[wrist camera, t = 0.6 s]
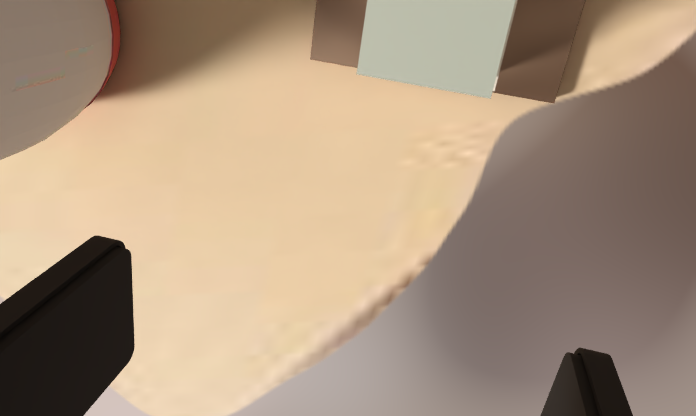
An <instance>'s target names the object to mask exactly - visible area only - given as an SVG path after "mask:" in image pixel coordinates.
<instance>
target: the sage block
mask: <svg viewBox="0 0 696 416" xmlns="http://www.w3.org/2000/svg"><path fill="white" fill-rule="evenodd" d="M515 1H516V0H367V6H366V13H365V20H364V27H363V34H362V40H361V47H360V54H359V61H358V68H357V74H358V75H363V76H369V77H374V78H380V79H385V80H391V81H396V82H402V83H407V84H413V85H418V86H424V87H429V88H435V89H440V90H446V91H451V92H457V93H462V94H468V95H473V96H479V97H484V98H490V99H491V95H492V91H493V88H494V84H495V80H496V76H497V72H498V68H499V64H500V60H501V56H502V52H503V48H504V44H505V40H506V36H507V32H508V28H509V24H510V20H511V16H512V12H513V8H514V4H515Z"/></svg>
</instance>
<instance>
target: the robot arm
mask: <svg viewBox="0 0 696 416" xmlns="http://www.w3.org/2000/svg"><path fill="white" fill-rule="evenodd" d="M133 351H134V321H133V293H132V265H131V253H130V251H129V250H128V249H125V245H124V243H123V242H121V241H119V240H114V239H110V238H106V237H102V236H94V237H92V238H90V239H89V240H87V241H86V242H85V243H83V244H82V245H81V246H79V247H78V248H76V249H75V250H74V251H72V252H71V253H70V254H68V255H67V256H65V257H64V258H63V259H61V260H60V261H59V262H57V263H56V264H54V265H53V266H52V267H50V268H49V269H48V270H46V271H45V272H43V273H42V274H41V275H39V276H38V277H37V278H35V279H34V280H32V281H31V282H30V283H28V284H27V285H26V286H24V287H23V288H22V289H20V290H19V291H17V292H16V293H15V294H13V295H12V296H11V297H9V298H8V299H6V300H5V301H4V302H2V303H1V304H0V416H83V415H84V414H85V413H86V412H87V411H88V409H89V408H90V407H91V406H92V405H93V404H94V402H95V401H96V400H97V399H98V398H99V396H100V395H101V394H102V393H103V392H104V390H105V389H106V388H107V387H108V386H109V385H110V384H111V382H112V381H113V380H114V379H115V378H116V377H117V375H118V374H119V373H120V372H121V371H122V369H123V368H124V367H125V366H126V365H127V364H128V362H129V361H130V359H131V357H132V354H133ZM541 416H633V415H632V412H631V409H630V406H629V404H628V401H627V398H626V396H625V393H624V390H623V387H622V385H621V382H620V379H619V377H618V374H617V371H616V368H615V366H614V363H613V360H612V358H611V356H610V355H608V354H605V353H601V352H596V351H592V350H587V349H583V348H578V349H577V350H576V351H575V353H574V354H573V353H566V354H565V356H564V358H563V360H562V363H561V365H560V368H559V370H558V373H557V375H556V378H555V381H554V383H553V386H552V388H551V391H550V393H549V396H548V398H547V401H546V403H545V406H544V408H543V411H542V413H541Z"/></svg>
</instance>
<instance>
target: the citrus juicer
mask: <svg viewBox="0 0 696 416" xmlns="http://www.w3.org/2000/svg"><path fill="white" fill-rule="evenodd" d="M119 49H120V25H119V18H118V12H117V9H116V5H115V2H114V0H0V160H1V159H4V158H6V157H8V156H11V155H13V154H16V153H18V152H21V151H23V150H25V149H27V148H29V147H31V146H33V145H35V144H37V143H39V142H41V141H43V140H45V139H47V138H48V137H49V136H51V135H52V134H53V133H55V132H56V131H57V130H59V129H60V128H62V127H63V126H64V125H66V124H67V123H68V122H70V121H71V120H72V119H74V118H75V117H76V116H78V114H79V113H80V112H81V111H82V110H83V109H84V108H86V107H87V106H89V105H90V104H91V103H92V102H93V101H94V99H95V98H96V97H97V96H98V94H99V93H100V92H101V91H102V89H103V88H104V86H105V85H106V83H107V81H108V79H109V77H110V75H111V73H112V71H113V69H114V67H115V65H116V62H117V57H118V53H119Z"/></svg>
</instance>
